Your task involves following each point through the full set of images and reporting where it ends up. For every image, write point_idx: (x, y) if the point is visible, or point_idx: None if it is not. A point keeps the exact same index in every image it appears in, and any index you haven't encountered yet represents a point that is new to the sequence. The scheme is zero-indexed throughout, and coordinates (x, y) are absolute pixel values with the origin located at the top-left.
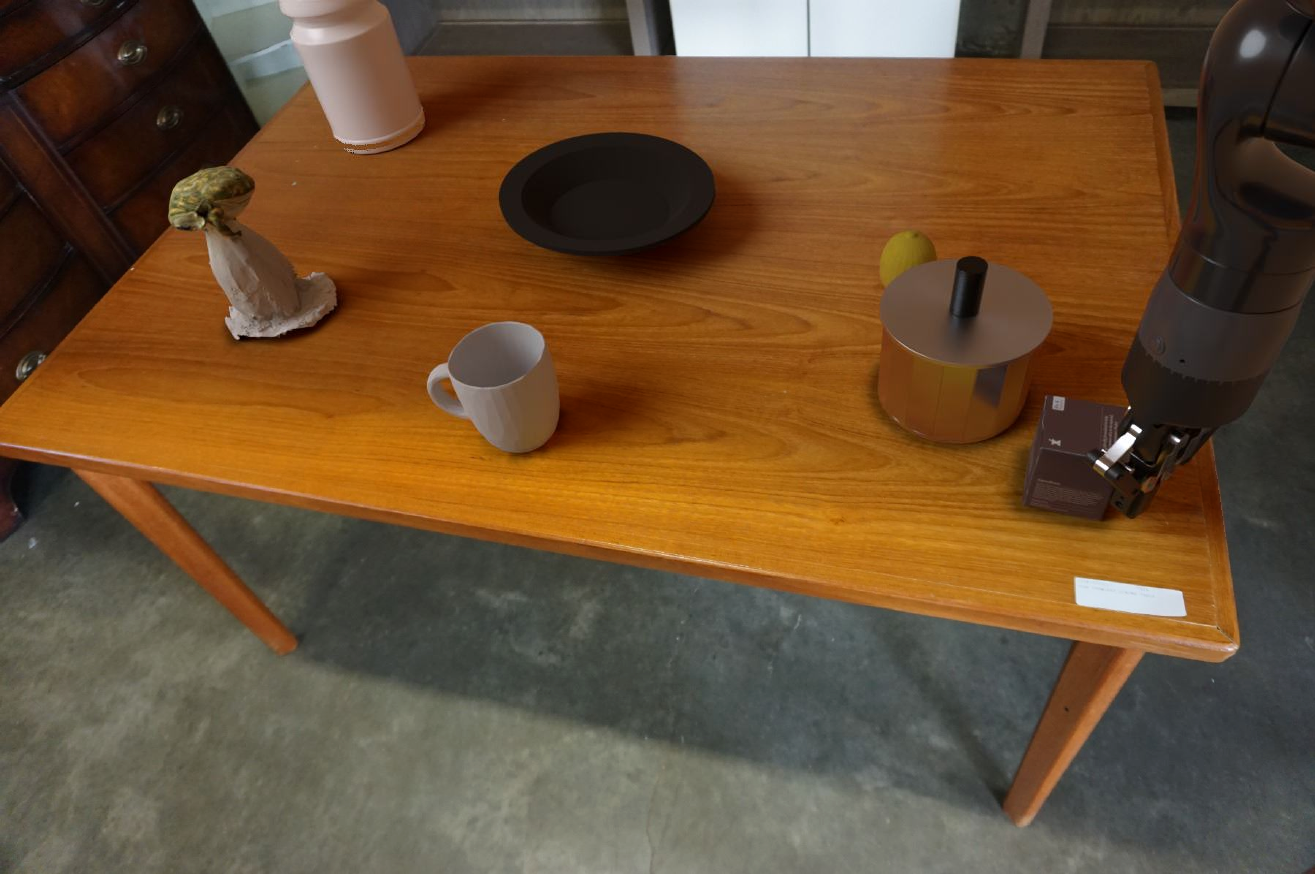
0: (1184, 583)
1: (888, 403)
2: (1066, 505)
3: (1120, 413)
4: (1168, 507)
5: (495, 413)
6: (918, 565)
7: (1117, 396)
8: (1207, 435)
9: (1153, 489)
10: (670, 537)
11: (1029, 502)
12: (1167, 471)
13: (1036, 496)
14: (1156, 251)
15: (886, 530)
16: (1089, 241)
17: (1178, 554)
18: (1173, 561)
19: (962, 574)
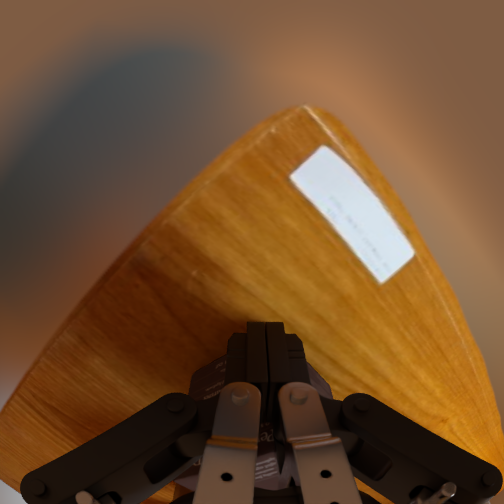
0: (272, 183)
1: None
2: (309, 372)
3: (193, 482)
4: (168, 288)
5: (488, 501)
6: (456, 369)
7: (102, 407)
8: (119, 449)
9: (267, 374)
10: (493, 429)
11: (328, 388)
12: (250, 414)
13: (329, 397)
14: (3, 430)
15: (435, 405)
16: (40, 461)
17: (230, 224)
18: (248, 220)
19: (447, 346)
